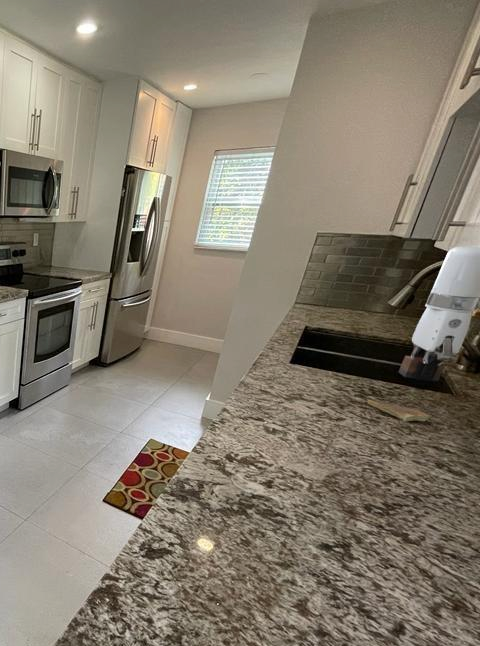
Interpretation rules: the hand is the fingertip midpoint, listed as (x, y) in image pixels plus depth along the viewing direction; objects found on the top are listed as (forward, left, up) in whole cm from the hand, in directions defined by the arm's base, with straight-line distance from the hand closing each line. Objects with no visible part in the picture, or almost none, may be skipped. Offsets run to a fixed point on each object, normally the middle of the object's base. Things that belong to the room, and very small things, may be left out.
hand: (418, 375), depth 100 cm
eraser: (0, 0, 0) cm, 0 cm away
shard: (-2, -6, -13) cm, 15 cm away
